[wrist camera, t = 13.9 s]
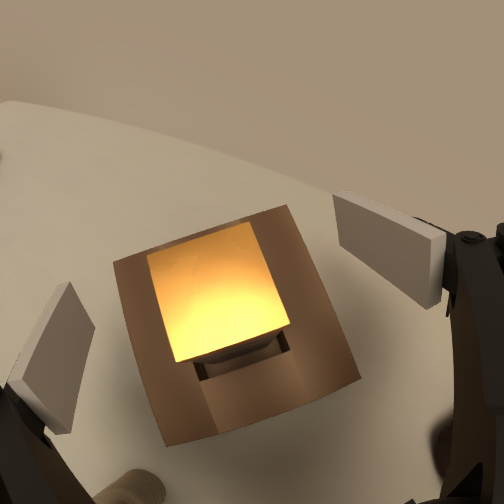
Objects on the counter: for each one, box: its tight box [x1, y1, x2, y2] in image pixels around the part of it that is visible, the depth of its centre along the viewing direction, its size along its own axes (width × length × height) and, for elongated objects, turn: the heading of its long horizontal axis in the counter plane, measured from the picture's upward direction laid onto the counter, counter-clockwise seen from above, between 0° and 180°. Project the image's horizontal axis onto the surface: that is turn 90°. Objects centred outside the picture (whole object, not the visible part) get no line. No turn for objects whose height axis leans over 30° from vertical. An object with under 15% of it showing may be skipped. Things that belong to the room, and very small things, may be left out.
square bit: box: [147, 222, 290, 365], centre depth 14 cm, size 4×4×11 cm
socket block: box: [113, 205, 361, 447], centre depth 18 cm, size 11×11×5 cm
